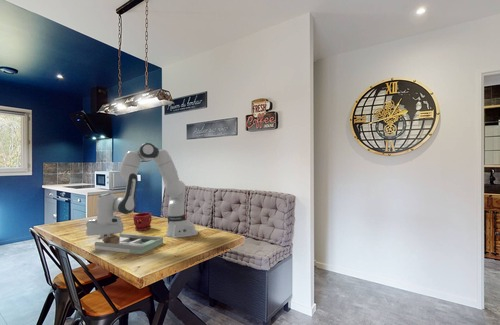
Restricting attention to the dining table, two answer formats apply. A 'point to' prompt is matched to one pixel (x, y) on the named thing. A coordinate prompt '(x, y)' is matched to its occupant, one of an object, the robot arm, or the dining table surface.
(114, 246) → the white board with recesses
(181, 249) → the dining table surface
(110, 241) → the block
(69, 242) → the dining table surface
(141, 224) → the plant pot
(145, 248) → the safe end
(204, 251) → the dining table surface
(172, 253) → the dining table surface
